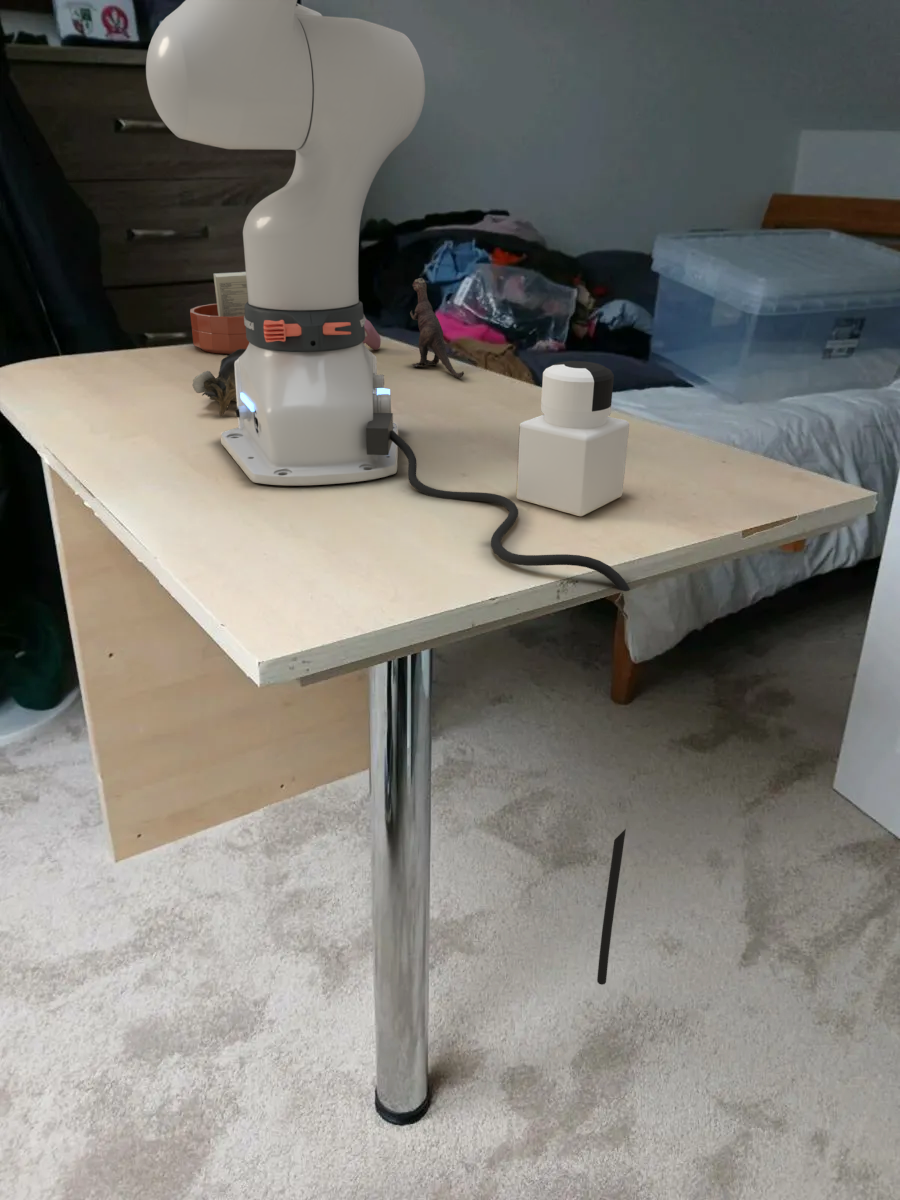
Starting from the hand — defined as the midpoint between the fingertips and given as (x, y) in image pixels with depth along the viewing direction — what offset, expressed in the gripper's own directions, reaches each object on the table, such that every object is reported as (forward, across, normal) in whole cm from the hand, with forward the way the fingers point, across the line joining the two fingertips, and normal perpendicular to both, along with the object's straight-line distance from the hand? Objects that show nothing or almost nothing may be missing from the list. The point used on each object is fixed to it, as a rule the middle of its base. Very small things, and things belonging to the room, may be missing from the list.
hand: (266, 136), depth 127 cm
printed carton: (+29, -9, 0) cm, 30 cm away
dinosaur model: (+29, +25, +6) cm, 39 cm away
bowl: (+29, -9, 0) cm, 31 cm away
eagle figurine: (+29, +18, -26) cm, 43 cm away
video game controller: (+29, +6, +8) cm, 31 cm away
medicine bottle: (+29, +65, -28) cm, 77 cm away
